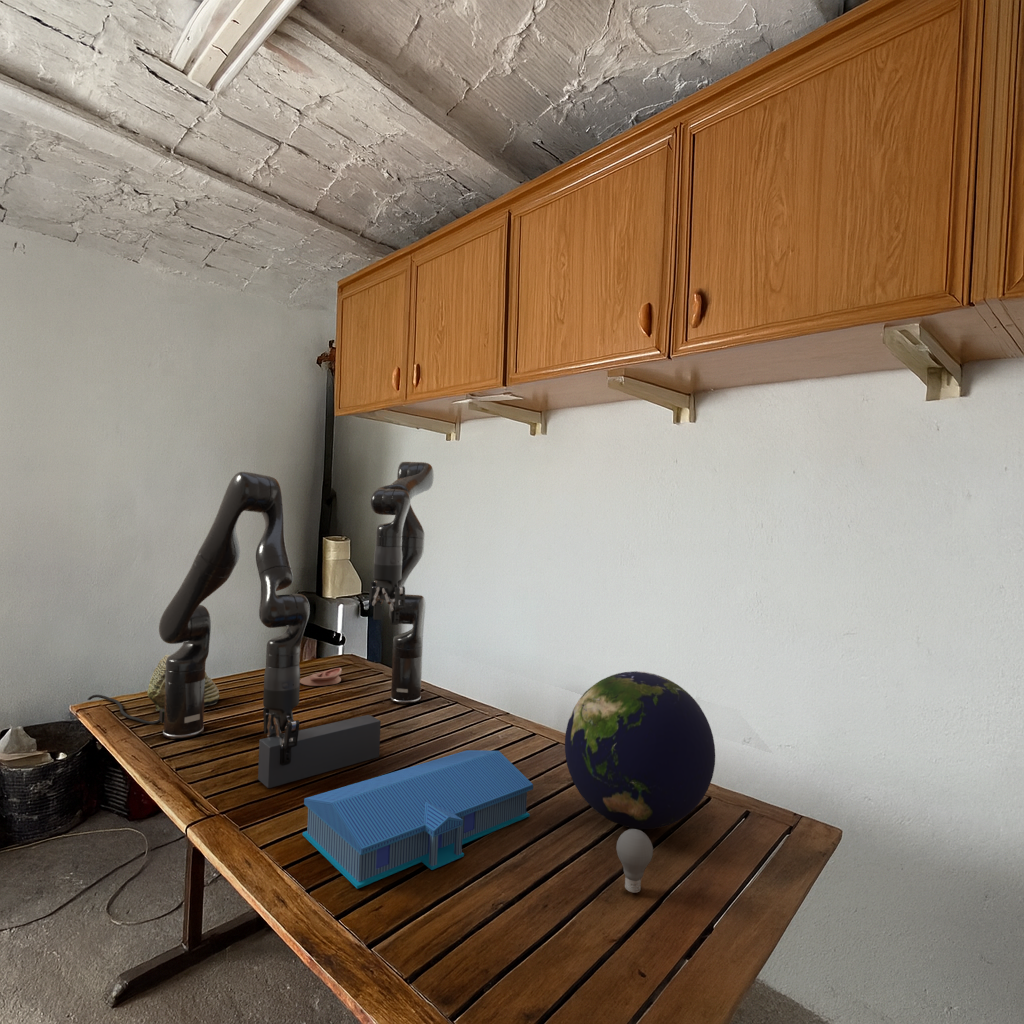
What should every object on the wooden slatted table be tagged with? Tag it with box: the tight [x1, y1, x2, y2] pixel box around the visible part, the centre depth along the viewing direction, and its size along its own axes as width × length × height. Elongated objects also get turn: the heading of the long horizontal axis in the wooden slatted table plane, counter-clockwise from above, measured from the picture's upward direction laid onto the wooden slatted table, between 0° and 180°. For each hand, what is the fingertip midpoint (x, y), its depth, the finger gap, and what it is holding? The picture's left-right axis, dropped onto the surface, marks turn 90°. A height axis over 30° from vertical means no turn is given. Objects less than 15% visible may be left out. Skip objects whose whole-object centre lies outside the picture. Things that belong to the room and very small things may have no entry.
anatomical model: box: [300, 667, 343, 687], centre depth 214 cm, size 13×4×12 cm
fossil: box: [147, 654, 221, 712], centre depth 185 cm, size 9×18×15 cm, turn 132°
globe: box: [564, 670, 716, 830], centre depth 129 cm, size 30×30×30 cm
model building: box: [302, 749, 534, 890], centre depth 123 cm, size 39×24×10 cm, turn 132°
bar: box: [257, 714, 382, 789], centre depth 148 cm, size 28×6×9 cm, turn 133°
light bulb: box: [615, 828, 654, 894], centre depth 106 cm, size 6×6×10 cm
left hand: (279, 759), depth 141 cm, fingers closed on bar, 5 cm apart
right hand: (385, 621), depth 172 cm, fingers open, 8 cm apart
